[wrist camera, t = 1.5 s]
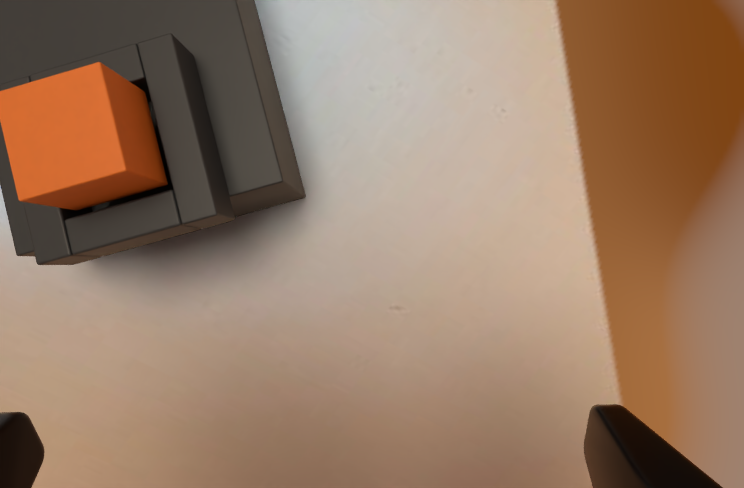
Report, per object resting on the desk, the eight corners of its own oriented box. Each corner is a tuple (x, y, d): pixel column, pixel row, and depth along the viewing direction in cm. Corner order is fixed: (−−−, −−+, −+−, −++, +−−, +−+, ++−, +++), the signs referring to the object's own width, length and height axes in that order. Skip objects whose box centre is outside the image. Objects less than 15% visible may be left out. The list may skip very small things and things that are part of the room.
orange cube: (168, 185, 17) (126, 170, 14) (76, 211, 17) (17, 201, 14) (145, 91, 17) (99, 60, 14) (54, 118, 17) (-8, 92, 14)
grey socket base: (311, 216, 22) (276, 198, 16) (92, 276, 22) (-21, 281, 16) (237, -63, 23) (178, -181, 17) (27, 1, 23) (-105, -91, 17)
